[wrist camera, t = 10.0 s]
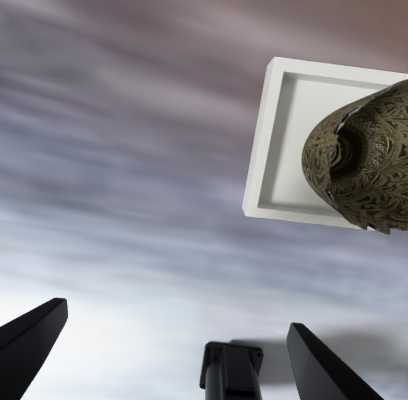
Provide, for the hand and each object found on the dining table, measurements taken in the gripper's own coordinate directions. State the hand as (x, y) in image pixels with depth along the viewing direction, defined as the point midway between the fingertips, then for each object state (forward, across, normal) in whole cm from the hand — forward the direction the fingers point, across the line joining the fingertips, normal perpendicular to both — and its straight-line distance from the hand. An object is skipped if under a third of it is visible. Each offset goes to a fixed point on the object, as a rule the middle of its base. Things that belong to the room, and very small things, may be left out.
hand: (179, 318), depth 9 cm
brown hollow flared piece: (+12, -10, -7) cm, 17 cm away
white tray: (+12, -10, -7) cm, 17 cm away
